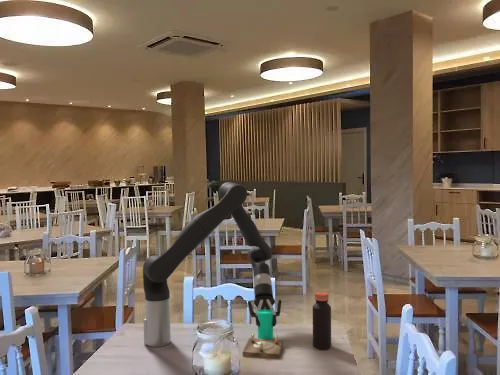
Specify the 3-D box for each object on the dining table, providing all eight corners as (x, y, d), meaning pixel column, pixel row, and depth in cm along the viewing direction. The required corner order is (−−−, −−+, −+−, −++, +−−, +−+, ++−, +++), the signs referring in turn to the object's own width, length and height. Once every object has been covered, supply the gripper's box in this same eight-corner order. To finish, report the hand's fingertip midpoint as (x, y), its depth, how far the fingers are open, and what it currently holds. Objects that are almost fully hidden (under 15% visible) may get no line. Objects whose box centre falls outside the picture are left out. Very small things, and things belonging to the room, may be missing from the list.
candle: (271, 340, 173) (271, 310, 172) (256, 339, 174) (256, 309, 174) (274, 335, 179) (273, 305, 178) (259, 334, 180) (258, 304, 180)
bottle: (335, 347, 166) (334, 293, 165) (322, 352, 162) (322, 297, 161) (321, 341, 171) (321, 289, 171) (308, 346, 167) (308, 293, 166)
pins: (247, 351, 160) (247, 342, 160) (251, 341, 168) (251, 333, 168) (275, 352, 158) (275, 344, 158) (278, 343, 167) (278, 335, 167)
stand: (242, 356, 159) (242, 351, 159) (249, 342, 172) (249, 337, 172) (279, 358, 157) (279, 353, 157) (283, 343, 170) (283, 339, 170)
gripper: (245, 283, 183) (248, 322, 171) (281, 281, 184) (285, 320, 172) (245, 292, 188) (247, 331, 177) (279, 291, 189) (284, 329, 178)
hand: (266, 325), depth 175 cm, fingers closed on candle, 5 cm apart
